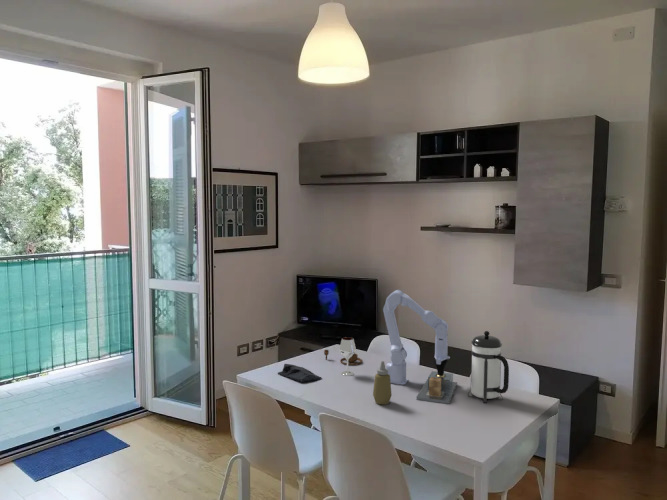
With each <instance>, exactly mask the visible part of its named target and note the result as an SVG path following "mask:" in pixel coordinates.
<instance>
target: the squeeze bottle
mask: <svg viewBox="0 0 667 500" xmlns="http://www.w3.org/2000/svg"><path fill="white" fill-rule="evenodd" d="M391 385H392V383H391V382H390V375H389V374H388V370H387V369H386V365H385V360H382V361H381V362H380V366H379V368H377V369H376V374H375V375H374V382H373V390H372V397H373V399H374V402H375V404H377V405H381V406H382V405H383V406H384V405H389V403H390V401H391V398H392V396H393V395H392V394H393V393H392V386H391Z"/></svg>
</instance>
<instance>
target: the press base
mask: <svg viewBox="0 0 667 500" xmlns="http://www.w3.org/2000/svg"><path fill="white" fill-rule="evenodd" d="M437 374H438V372H437V371H431V372H430V373H429V375H428V377H427V379H426V381H425V382H424V384H423V385H422V387H421V389H420V391H419V392H418V394H417V395H416V397H415V398H416V400H418V401H426V402H431V403H438V404H446V405H449V404H450V402H451V400H452V397H453V395H454V393H455V391H456V388H457V386H458V382H456V381H454V373H449V372H444V374H443V375H445V377H437ZM431 377H435V378H441V393H440V395H439V396H437V395H430V394H429V380H430V378H431Z"/></svg>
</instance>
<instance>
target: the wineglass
mask: <svg viewBox="0 0 667 500" xmlns="http://www.w3.org/2000/svg"><path fill="white" fill-rule="evenodd" d="M356 351H357V350H356V344H355V339H354V338H353V337H349V336H348V337H346V336H345V337H343V338H341V341H340V345H339V353H340V354H341V355H342V356H343V358H346V360H347V361H346V360H345V361H346V363H347V365H346V371H341V372H340V374H341V375H342V376H345V377H346V376H353V375H354V374H355V373H354V372H353V371H350V370H349V365H348V360H349V358H350V357H352V356H353V355H354V353H355V354H356Z"/></svg>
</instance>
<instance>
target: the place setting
mask: <svg viewBox="0 0 667 500" xmlns="http://www.w3.org/2000/svg"><path fill="white" fill-rule="evenodd" d="M323 353H324V356H325V360H326V361H327V360H328V355H329V354H330V352H329V349H324V351H323ZM339 361H340V363H341V364H342V365H344V366H347V360H346V358H345V357H342V358H341V359H340V360H339ZM343 361H345V362H343ZM362 362H363V359H362V358H360V357H358V354H357V353H356V352H355V353H354V355H353V356H352V357H350V358H349V360H348V366H359V365H361V364H362ZM332 364H334V362H332Z"/></svg>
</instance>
